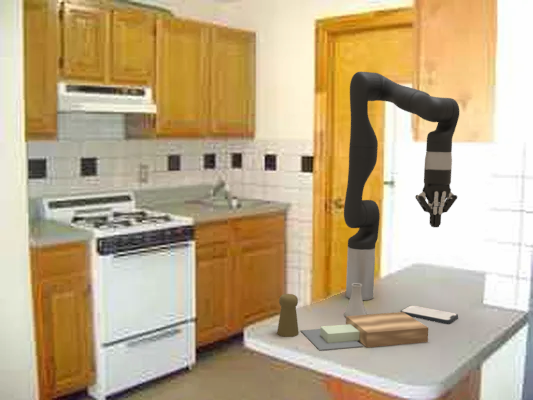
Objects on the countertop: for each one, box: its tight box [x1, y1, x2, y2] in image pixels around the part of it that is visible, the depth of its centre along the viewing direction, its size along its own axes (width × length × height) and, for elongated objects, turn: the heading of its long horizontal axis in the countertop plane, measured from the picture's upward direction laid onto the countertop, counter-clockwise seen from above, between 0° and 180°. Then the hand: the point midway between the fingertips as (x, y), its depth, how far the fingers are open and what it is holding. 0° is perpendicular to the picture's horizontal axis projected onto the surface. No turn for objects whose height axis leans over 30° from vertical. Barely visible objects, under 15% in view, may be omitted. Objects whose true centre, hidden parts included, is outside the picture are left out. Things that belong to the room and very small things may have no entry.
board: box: [345, 311, 429, 348], centre depth 164 cm, size 14×18×4 cm
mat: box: [300, 328, 364, 352], centre depth 161 cm, size 15×12×1 cm
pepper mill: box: [277, 293, 300, 338], centre depth 164 cm, size 6×6×11 cm
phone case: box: [399, 305, 459, 325], centre depth 183 cm, size 9×2×16 cm
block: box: [319, 324, 360, 343], centre depth 161 cm, size 6×9×2 cm, turn 105°
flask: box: [343, 283, 368, 318], centre depth 181 cm, size 7×7×10 cm
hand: (434, 226), depth 172 cm, fingers closed
